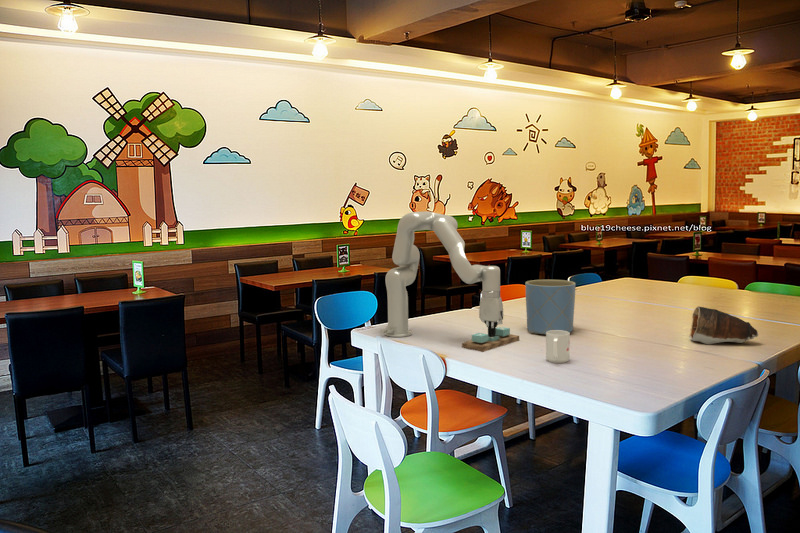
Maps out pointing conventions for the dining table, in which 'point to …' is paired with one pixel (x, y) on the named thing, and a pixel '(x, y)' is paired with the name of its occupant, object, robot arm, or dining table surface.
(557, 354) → the mug
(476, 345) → the board
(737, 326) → the brown wedge
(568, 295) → the planter
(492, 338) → the tile two
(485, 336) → the tile one
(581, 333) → the dining table surface
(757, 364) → the dining table surface
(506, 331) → the tile three
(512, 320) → the dining table surface
